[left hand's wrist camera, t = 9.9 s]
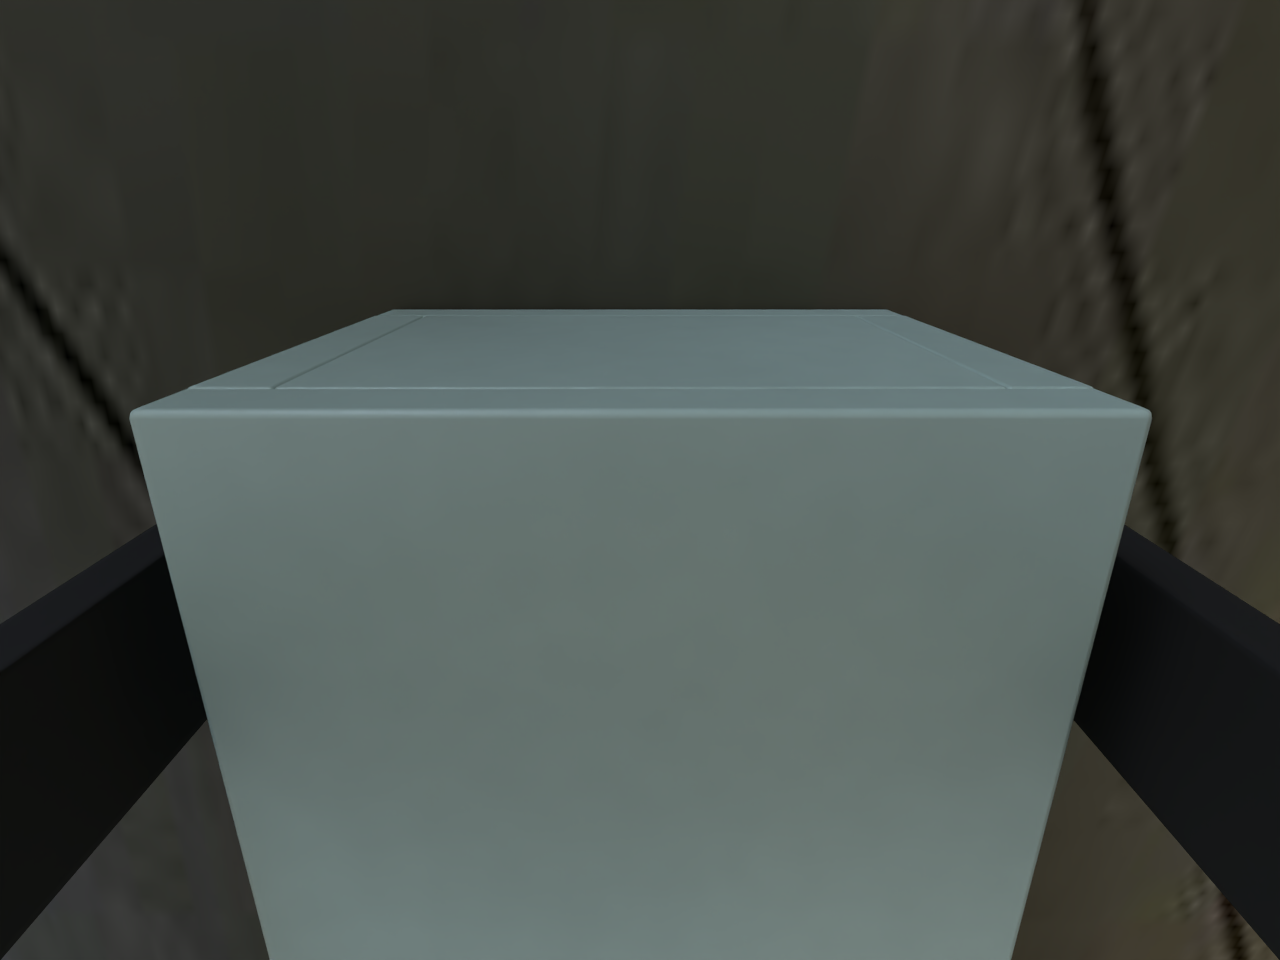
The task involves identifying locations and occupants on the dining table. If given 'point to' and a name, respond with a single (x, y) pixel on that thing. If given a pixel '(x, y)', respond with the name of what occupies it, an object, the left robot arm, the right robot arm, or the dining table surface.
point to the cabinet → (640, 629)
